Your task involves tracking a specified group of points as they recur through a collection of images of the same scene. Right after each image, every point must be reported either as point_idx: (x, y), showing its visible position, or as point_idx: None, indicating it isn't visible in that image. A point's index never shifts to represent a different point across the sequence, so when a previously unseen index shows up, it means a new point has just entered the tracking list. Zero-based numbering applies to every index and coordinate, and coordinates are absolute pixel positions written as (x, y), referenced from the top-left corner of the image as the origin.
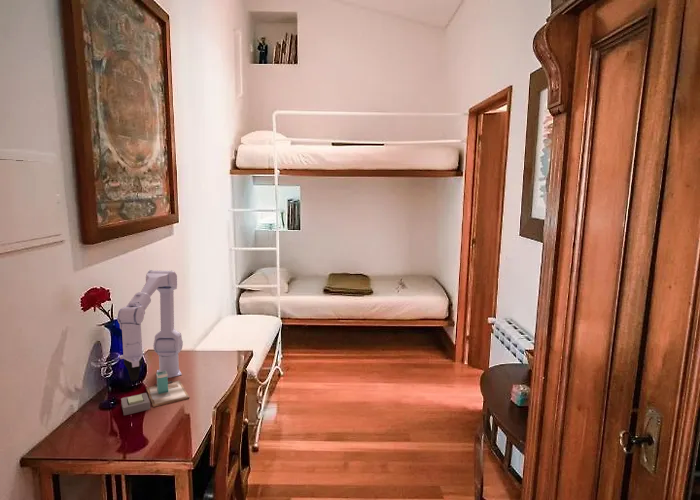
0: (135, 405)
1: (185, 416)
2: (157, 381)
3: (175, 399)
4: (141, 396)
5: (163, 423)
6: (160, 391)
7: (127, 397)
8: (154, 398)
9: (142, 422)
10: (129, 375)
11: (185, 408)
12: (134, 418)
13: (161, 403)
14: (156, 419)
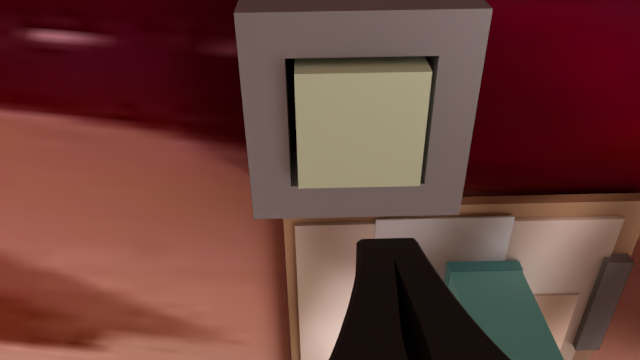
0: (244, 116)
1: (63, 329)
2: (512, 332)
3: (299, 327)
4: (374, 181)
5: (4, 225)
6: (450, 284)
7: (468, 67)
8: (387, 232)
9: (64, 111)
10: (352, 298)
11: (173, 342)
12: (159, 64)
13: (285, 256)
14: (81, 196)
